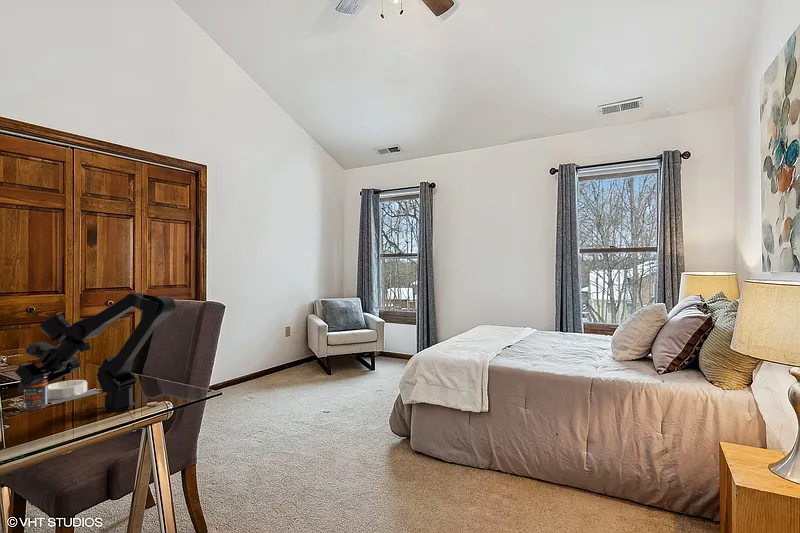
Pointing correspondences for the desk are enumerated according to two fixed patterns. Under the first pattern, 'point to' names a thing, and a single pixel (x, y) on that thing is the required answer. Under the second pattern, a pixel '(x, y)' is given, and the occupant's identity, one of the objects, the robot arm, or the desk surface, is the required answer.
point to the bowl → (66, 389)
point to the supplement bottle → (36, 396)
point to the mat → (89, 392)
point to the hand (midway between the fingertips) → (32, 386)
